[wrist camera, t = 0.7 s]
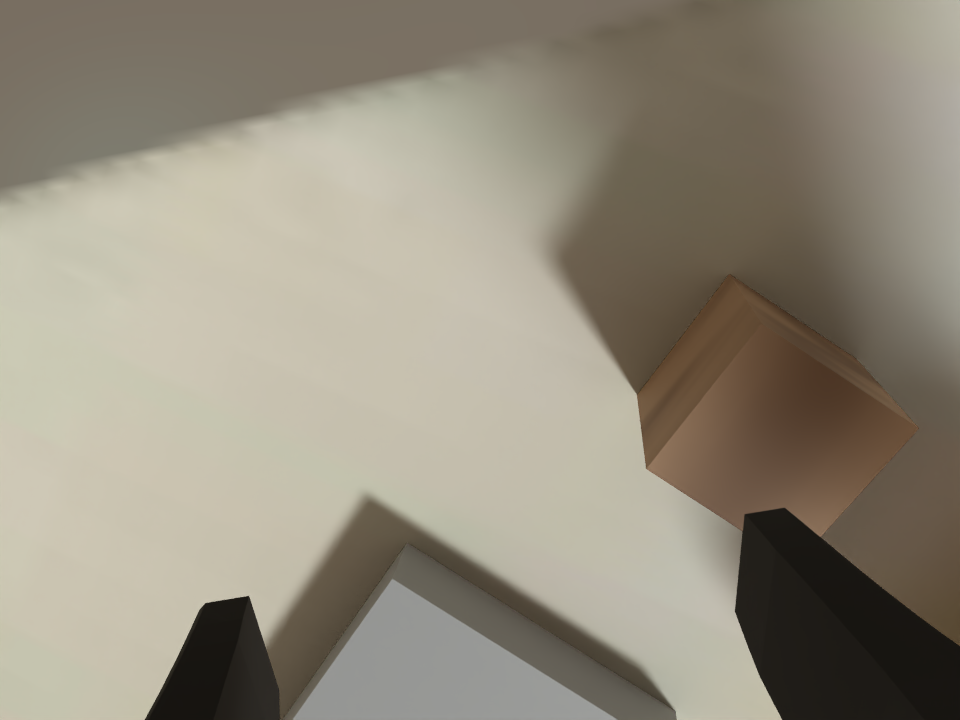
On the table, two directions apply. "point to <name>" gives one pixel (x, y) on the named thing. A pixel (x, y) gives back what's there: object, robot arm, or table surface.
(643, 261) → the table surface
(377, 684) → the slate block
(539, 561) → the table surface
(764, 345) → the walnut block
